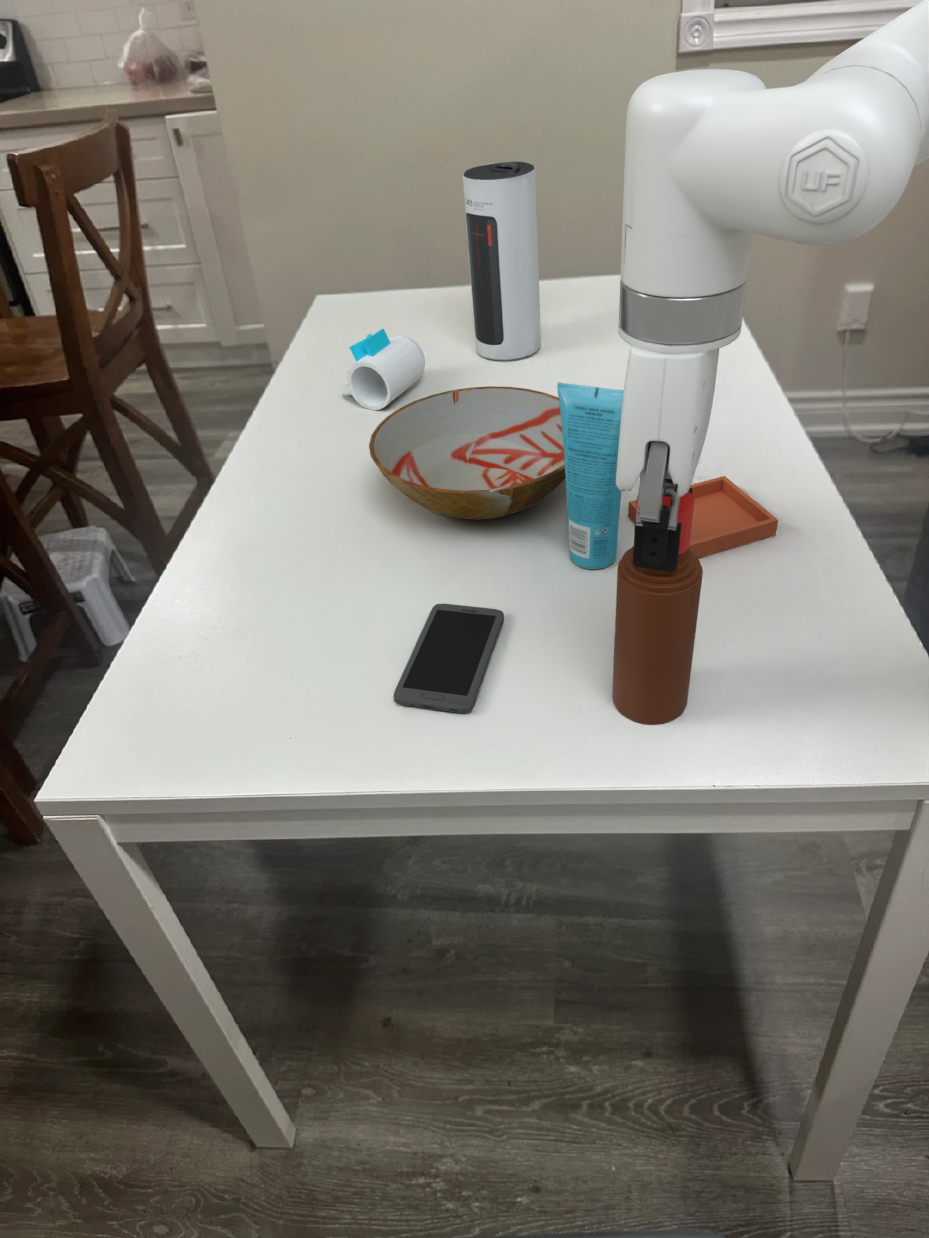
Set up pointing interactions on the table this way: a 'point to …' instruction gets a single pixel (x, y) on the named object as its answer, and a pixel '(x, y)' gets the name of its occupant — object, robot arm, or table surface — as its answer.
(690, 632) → the bottle
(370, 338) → the mug
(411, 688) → the cell phone
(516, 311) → the speaker
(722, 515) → the tray
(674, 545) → the robot arm
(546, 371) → the table surface
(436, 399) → the bowl
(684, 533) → the cap
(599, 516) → the tube
